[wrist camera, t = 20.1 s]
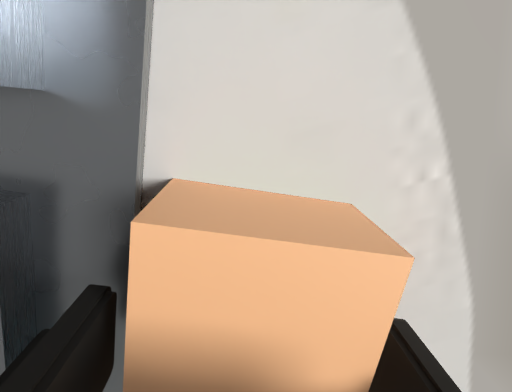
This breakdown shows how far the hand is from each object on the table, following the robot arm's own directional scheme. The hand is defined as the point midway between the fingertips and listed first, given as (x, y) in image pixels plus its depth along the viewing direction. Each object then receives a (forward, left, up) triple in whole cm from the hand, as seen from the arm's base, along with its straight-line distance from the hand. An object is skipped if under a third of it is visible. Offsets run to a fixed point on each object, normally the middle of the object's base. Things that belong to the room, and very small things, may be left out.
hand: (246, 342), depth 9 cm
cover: (0, 0, -2) cm, 2 cm away
